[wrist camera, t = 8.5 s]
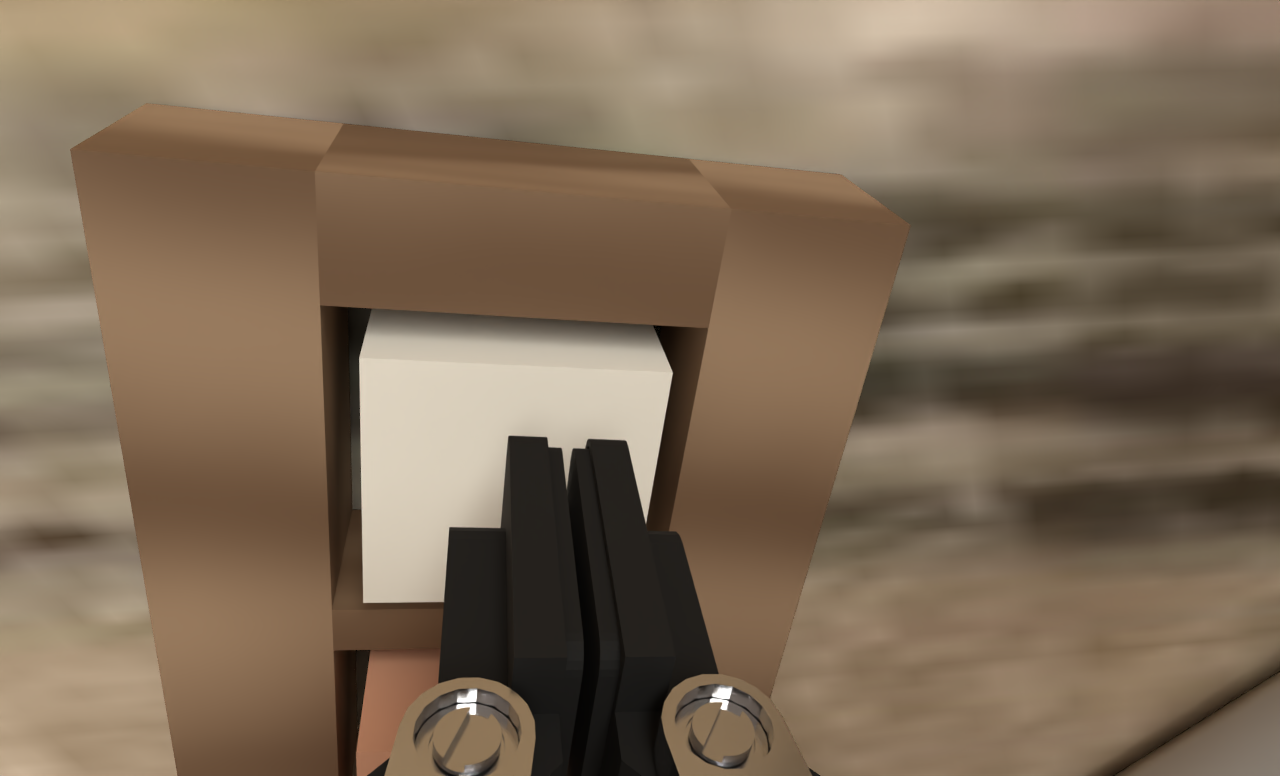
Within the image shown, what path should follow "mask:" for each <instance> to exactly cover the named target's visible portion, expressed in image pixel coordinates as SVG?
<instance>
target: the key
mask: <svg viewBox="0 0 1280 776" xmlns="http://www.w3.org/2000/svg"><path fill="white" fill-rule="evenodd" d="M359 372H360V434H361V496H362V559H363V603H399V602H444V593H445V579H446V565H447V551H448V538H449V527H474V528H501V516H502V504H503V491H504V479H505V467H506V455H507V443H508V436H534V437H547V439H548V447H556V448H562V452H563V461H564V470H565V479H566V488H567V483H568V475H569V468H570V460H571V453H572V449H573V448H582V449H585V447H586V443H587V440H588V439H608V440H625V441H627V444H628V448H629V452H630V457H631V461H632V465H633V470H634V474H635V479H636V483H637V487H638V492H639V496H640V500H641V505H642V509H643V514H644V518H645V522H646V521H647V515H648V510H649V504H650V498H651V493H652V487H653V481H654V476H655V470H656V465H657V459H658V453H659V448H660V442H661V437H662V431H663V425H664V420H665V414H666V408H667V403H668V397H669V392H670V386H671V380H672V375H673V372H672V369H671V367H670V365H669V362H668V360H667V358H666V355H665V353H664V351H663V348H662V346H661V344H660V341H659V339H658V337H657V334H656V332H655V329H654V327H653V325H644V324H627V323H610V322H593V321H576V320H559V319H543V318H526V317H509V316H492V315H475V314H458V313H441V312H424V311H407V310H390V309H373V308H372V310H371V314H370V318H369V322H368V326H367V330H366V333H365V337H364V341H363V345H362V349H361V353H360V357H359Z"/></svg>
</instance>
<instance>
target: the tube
mask: <svg viewBox="0 0 1280 776" xmlns="http://www.w3.org/2000/svg"><path fill="white" fill-rule="evenodd" d="M1114 776H1280V672H1278V673H1277V674H1275V675H1273V676H1272V677H1270V678H1269V679H1267V680H1265V681H1264V682H1262V683H1261V684H1259V685H1258V686H1256V687H1254V688H1253V689H1251V690H1250V691H1248V692H1246V693H1245V694H1243V695H1242V696H1240V697H1238V698H1237V699H1235V700H1234V701H1232V702H1230V703H1229V704H1227V705H1226V706H1224V707H1223V708H1221V709H1219V710H1218V711H1216V712H1215V713H1213V714H1211V715H1210V716H1208V717H1207V718H1205V719H1203V720H1202V721H1200V722H1199V723H1197V724H1195V725H1194V726H1192V727H1191V728H1189V729H1188V730H1186V731H1184V732H1183V733H1181V734H1180V735H1178V736H1176V737H1175V738H1173V739H1172V740H1170V741H1168V742H1167V743H1165V744H1164V745H1162V746H1160V747H1159V748H1157V749H1156V750H1154V751H1153V752H1151V753H1149V754H1148V755H1146V756H1145V757H1143V758H1141V759H1140V760H1138V761H1137V762H1135V763H1133V764H1132V765H1130V766H1129V767H1127V768H1125V769H1124V770H1122V771H1121V772H1119V773H1118V774H1116V775H1114Z"/></svg>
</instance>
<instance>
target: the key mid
mask: <svg viewBox="0 0 1280 776" xmlns="http://www.w3.org/2000/svg"><path fill="white" fill-rule="evenodd" d="M440 649H441V648H422V649H378V650H370V657H369V664H368V672H367V679H366V686H365V693H364V700H363V708H362V715H361V722H360V729H359V736H358V743H357V751H356V767H357V776H367V775H368V774H370V773H371V772H372V771H373V770H375V769H376V768H377V767H378V766H380V765H381V764H382V763H383V762H385V761H386V760H387V759H388V758H390V755H391V752H392V748H393V745H394V742H395V738H396V735H397V732H398V728H399V725H400V723H401V721H402V719H403V717H404V715H405V713H406V710H407V708H408V707H409V706H410V705H411V704H412V703H413V702H414V701H415V700H416V699H417V698H418V697H419V696H420V695H421V694H422V693H423V692H425V691H427V690H429V689H430V688H432V687H434V686H436V685H437V684H438V677H439V663H440Z"/></svg>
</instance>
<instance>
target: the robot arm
mask: <svg viewBox="0 0 1280 776" xmlns="http://www.w3.org/2000/svg"><path fill="white" fill-rule="evenodd" d="M367 776H820V775H819V774H817V773H816V772H814V771H813V770H811V769H810V768H808V766H807V764H806V762H805V760H804V758H803V756H802V754H801V752H800V750H799V748H798V746H797V744H796V742H795V741H794V739H793V737H792V735H791V733H790V731H789V729H788V727H787V725H786V723H785V721H784V719H783V717H782V715H781V714H780V712H779V711H778V709H777V708H776V706H775V705H774V704H773V702H772V701H771V700H770V699H769V698H768V697H767V696H766V695H765V694H763V693H762V692H761V691H760V690H759V689H758V688H756V687H755V686H753V685H751V684H749V683H747V682H745V681H743V680H741V679H739V678H735V677H730V676H726V675H722V674H719V672H718V669H717V665H716V662H715V658H714V654H713V651H712V647H711V643H710V640H709V636H708V633H707V629H706V625H705V622H704V618H703V615H702V611H701V607H700V604H699V600H698V596H697V593H696V589H695V586H694V582H693V578H692V575H691V571H690V567H689V564H688V560H687V557H686V553H685V549H684V546H683V542H682V540H681V537H680V535H679V534H678V533H677V532H676V531H647V527H646V522H645V518H644V514H643V509H642V505H641V500H640V496H639V492H638V487H637V483H636V479H635V474H634V470H633V465H632V461H631V457H630V452H629V448H628V444H627V441H625V440H608V439H588V440H587V443H586V447H585V449H582V448H573V449H572V453H571V460H570V468H569V475H568V483H567V488H566V479H565V470H564V461H563V452H562V448H556V447H548V439H547V437H534V436H508V443H507V455H506V467H505V479H504V491H503V504H502V516H501V528H474V527H449V538H448V551H447V565H446V579H445V593H444V607H443V621H442V635H441V649H440V663H439V677H438V684H437V685H436V686H434V687H432V688H430V689H429V690H427V691H425V692H423V693H422V694H421V695H420V696H419V697H418V698H417V699H416V700H415V701H414V702H413V703H412V704H411V705H410V706H409V707H408V708H407V710H406V713H405V715H404V717H403V719H402V721H401V723H400V725H399V728H398V732H397V735H396V738H395V742H394V745H393V748H392V752H391V755H390V758H388V759H387V760H386V761H385V762H383V763H382V764H381V765H380V766H378V767H377V768H376V769H375V770H373V771H372V772H371V773H370V774H368V775H367Z"/></svg>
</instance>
